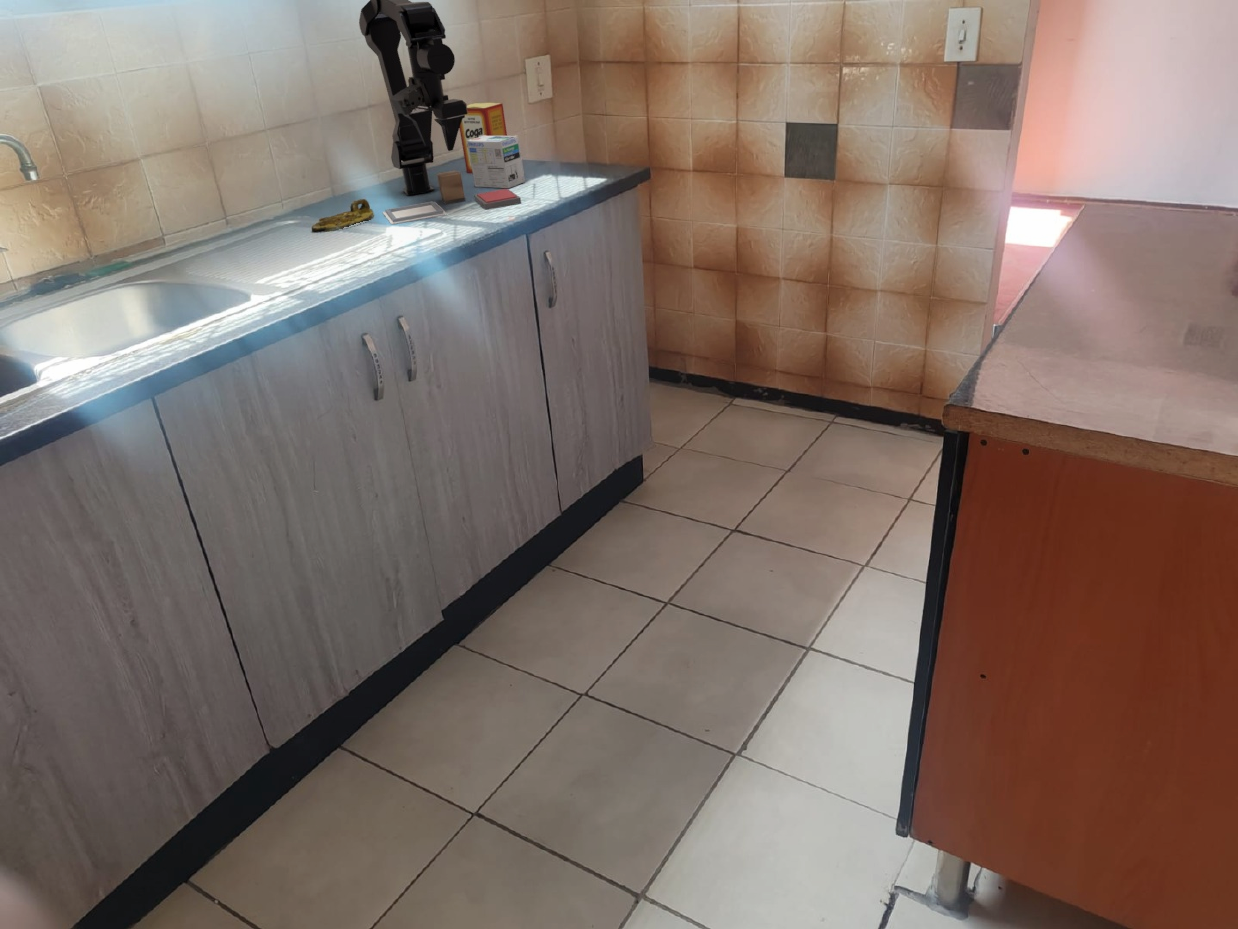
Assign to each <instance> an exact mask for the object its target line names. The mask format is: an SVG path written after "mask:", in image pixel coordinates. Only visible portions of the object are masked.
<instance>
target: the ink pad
mask: <svg viewBox="0 0 1238 929" xmlns="http://www.w3.org/2000/svg"><path fill="white" fill-rule="evenodd" d="M473 198H474V202H476V203H477V204H478V205H479V206H480V207H482V208H483V209H484V210H491V209H496V208H497V209H498V208H502V207H506V206H507V207H508V206H514V205H518V204H522V199H521V197H520V196H519V195H517V194H516V193H514V192H513V191H512V190H510V188H502V189H498V190H491V191H487V192H481V193H477V194H475V195H473Z"/></svg>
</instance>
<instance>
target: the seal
mask: <svg viewBox="0 0 1238 929" xmlns="http://www.w3.org/2000/svg"><path fill="white" fill-rule="evenodd" d="M359 205H361V206H360V208H359ZM349 206H350V210H348V211H344V212H341V213H337V214H335V215H331V216H328V217H327V216H326V217H322V218H320V219H319V220H318V222H316V223H315V224H312V226H311V232H313V233H316V232H317V233H323V232H324V233H326V232H327V233H328V232H336V231H340V230H339V229H342V230H344V229H343V228H344V227H349V226H351V225H354V224H356V223H360V222H363V221H368V222H370V221H371V220H372V219H374V217H373V216H375V213H374V211H373V209H372V208H370V203H369V201H368V200H367V199H366V198H362V199H357V200H353V201H351V203H350V205H349ZM369 220H370V221H369Z"/></svg>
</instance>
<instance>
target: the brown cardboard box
mask: <svg viewBox="0 0 1238 929" xmlns="http://www.w3.org/2000/svg"><path fill="white" fill-rule="evenodd" d="M436 176H437V182H438V188H439V191H440V192H439V193H440V198H441V202H443V204H445V205H451V204H456V203H462V202H466V197H465V190H464V185H463V184H464V183H463V179H462V174H461V173H460V171H458V170H451V171H444V172H440V173H437V174H436Z"/></svg>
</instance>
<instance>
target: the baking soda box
mask: <svg viewBox="0 0 1238 929" xmlns="http://www.w3.org/2000/svg"><path fill="white" fill-rule="evenodd" d="M503 104H504V103H503V102H502V103H501V102H498V103H497V102H483V103H482V102H480V103H479V102H477V103H476V102H475V103H471V104H467V110H468V114H465V118H463V119H462V122H461V125H460V128H459V132H460V134H459V135H460V139H461V145H462V151H463V152H462V153H463V157H464V163H465V167H466V168H465V170H466V173H467V174H473V172H472V166H471V161H470V155H469V149H468V143H467V140H470V139H474V138H478V137H481V136H484V135H486V136H508V133H507V125H506V119H505V112H504V105H503Z"/></svg>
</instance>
